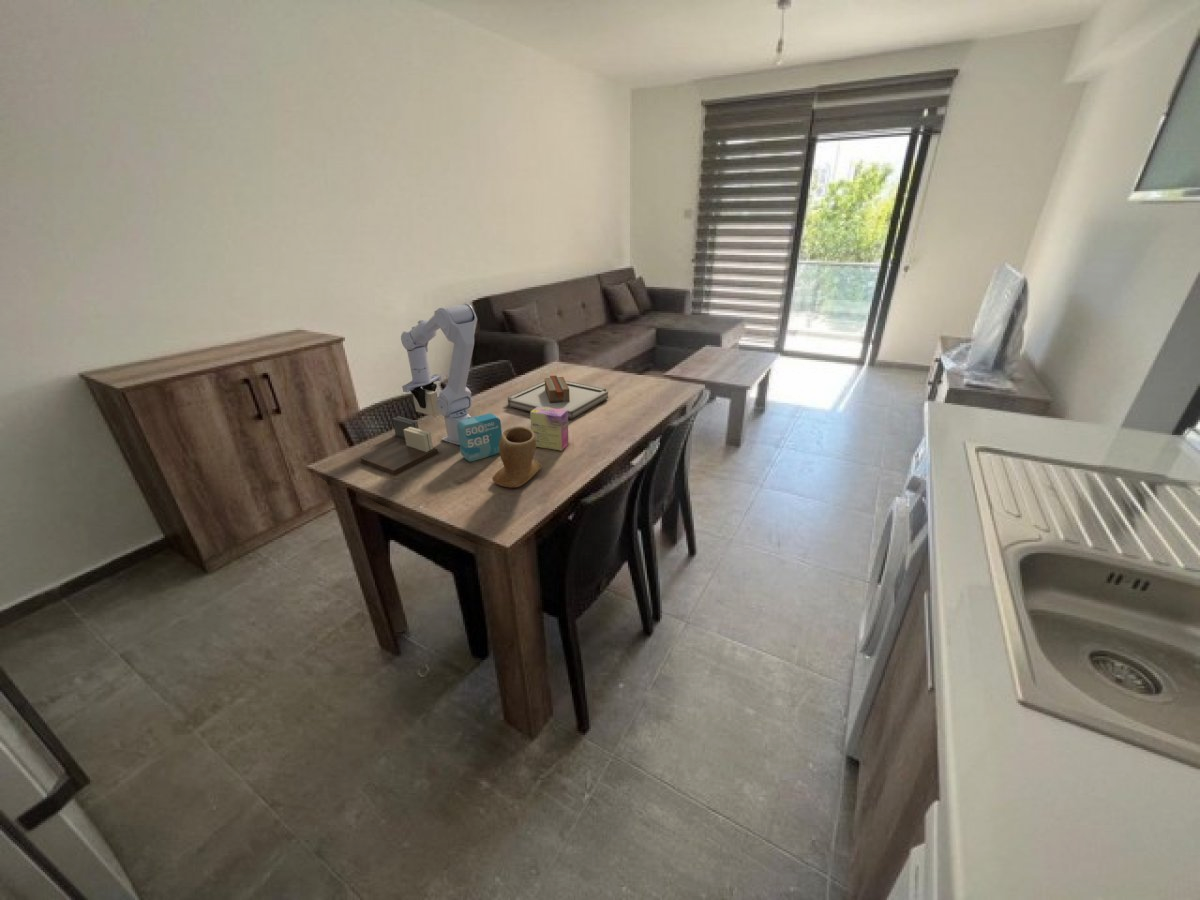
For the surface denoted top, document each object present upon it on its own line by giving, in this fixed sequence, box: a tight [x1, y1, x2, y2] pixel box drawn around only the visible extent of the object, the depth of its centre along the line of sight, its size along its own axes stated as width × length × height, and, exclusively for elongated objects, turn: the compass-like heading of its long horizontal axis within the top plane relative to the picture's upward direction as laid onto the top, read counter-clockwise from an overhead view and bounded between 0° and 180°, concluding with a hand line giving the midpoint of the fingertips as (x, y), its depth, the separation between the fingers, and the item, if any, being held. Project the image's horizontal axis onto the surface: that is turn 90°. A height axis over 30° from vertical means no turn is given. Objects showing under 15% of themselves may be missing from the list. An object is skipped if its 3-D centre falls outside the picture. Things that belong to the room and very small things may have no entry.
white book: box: [412, 389, 441, 417], centre depth 162 cm, size 9×2×8 cm, turn 59°
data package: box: [457, 412, 503, 463], centre depth 144 cm, size 12×4×12 cm, turn 126°
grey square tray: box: [507, 375, 609, 420], centre depth 185 cm, size 30×30×8 cm
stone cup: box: [491, 425, 543, 488], centre depth 131 cm, size 15×12×15 cm
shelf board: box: [360, 438, 439, 476], centre depth 145 cm, size 15×16×2 cm
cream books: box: [403, 427, 434, 452], centre depth 147 cm, size 9×3×6 cm, turn 59°
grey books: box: [391, 415, 420, 439], centre depth 157 cm, size 9×3×6 cm, turn 59°
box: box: [529, 406, 569, 452], centre depth 150 cm, size 10×6×12 cm, turn 71°
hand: (426, 406), depth 163 cm, fingers closed on white book, 2 cm apart
